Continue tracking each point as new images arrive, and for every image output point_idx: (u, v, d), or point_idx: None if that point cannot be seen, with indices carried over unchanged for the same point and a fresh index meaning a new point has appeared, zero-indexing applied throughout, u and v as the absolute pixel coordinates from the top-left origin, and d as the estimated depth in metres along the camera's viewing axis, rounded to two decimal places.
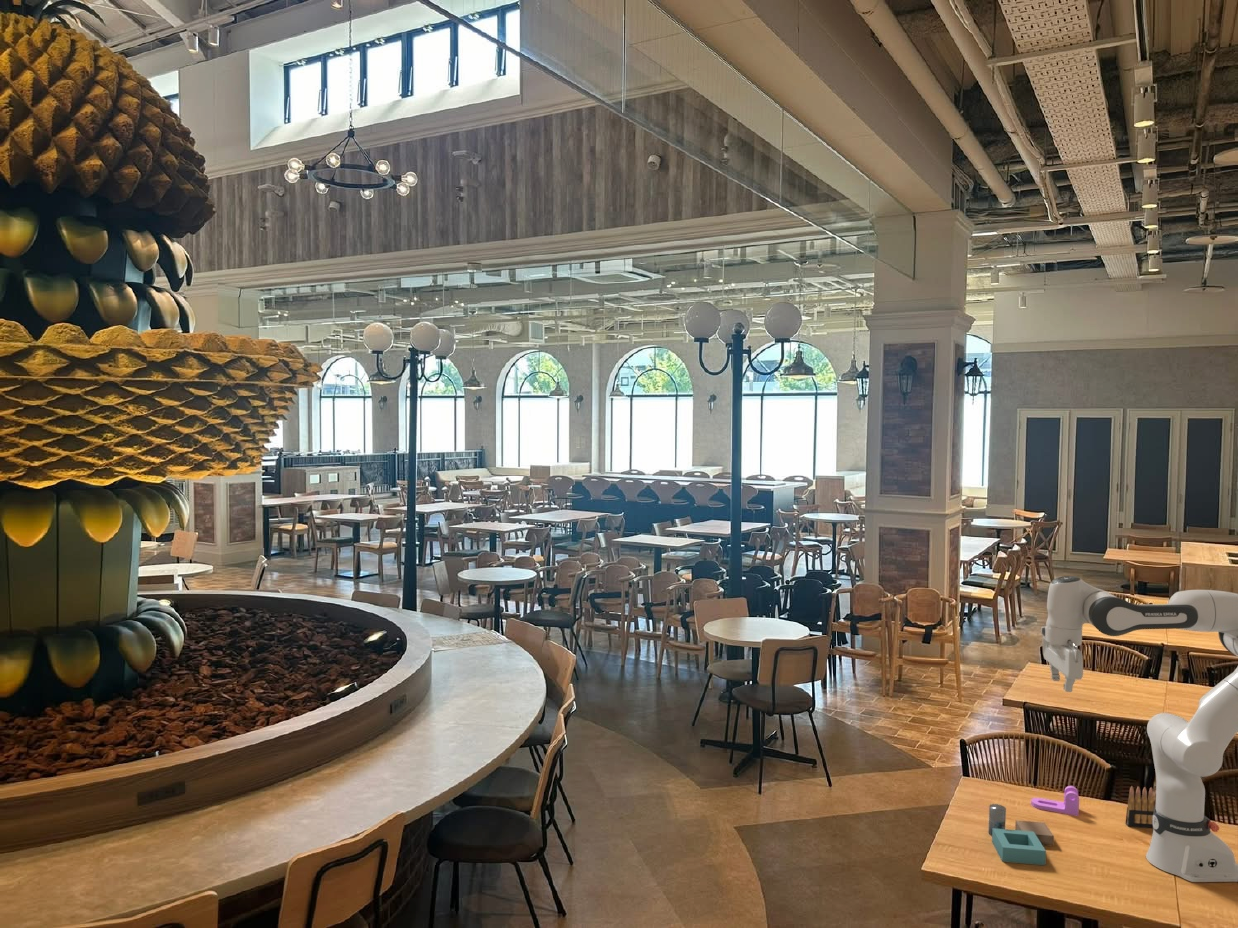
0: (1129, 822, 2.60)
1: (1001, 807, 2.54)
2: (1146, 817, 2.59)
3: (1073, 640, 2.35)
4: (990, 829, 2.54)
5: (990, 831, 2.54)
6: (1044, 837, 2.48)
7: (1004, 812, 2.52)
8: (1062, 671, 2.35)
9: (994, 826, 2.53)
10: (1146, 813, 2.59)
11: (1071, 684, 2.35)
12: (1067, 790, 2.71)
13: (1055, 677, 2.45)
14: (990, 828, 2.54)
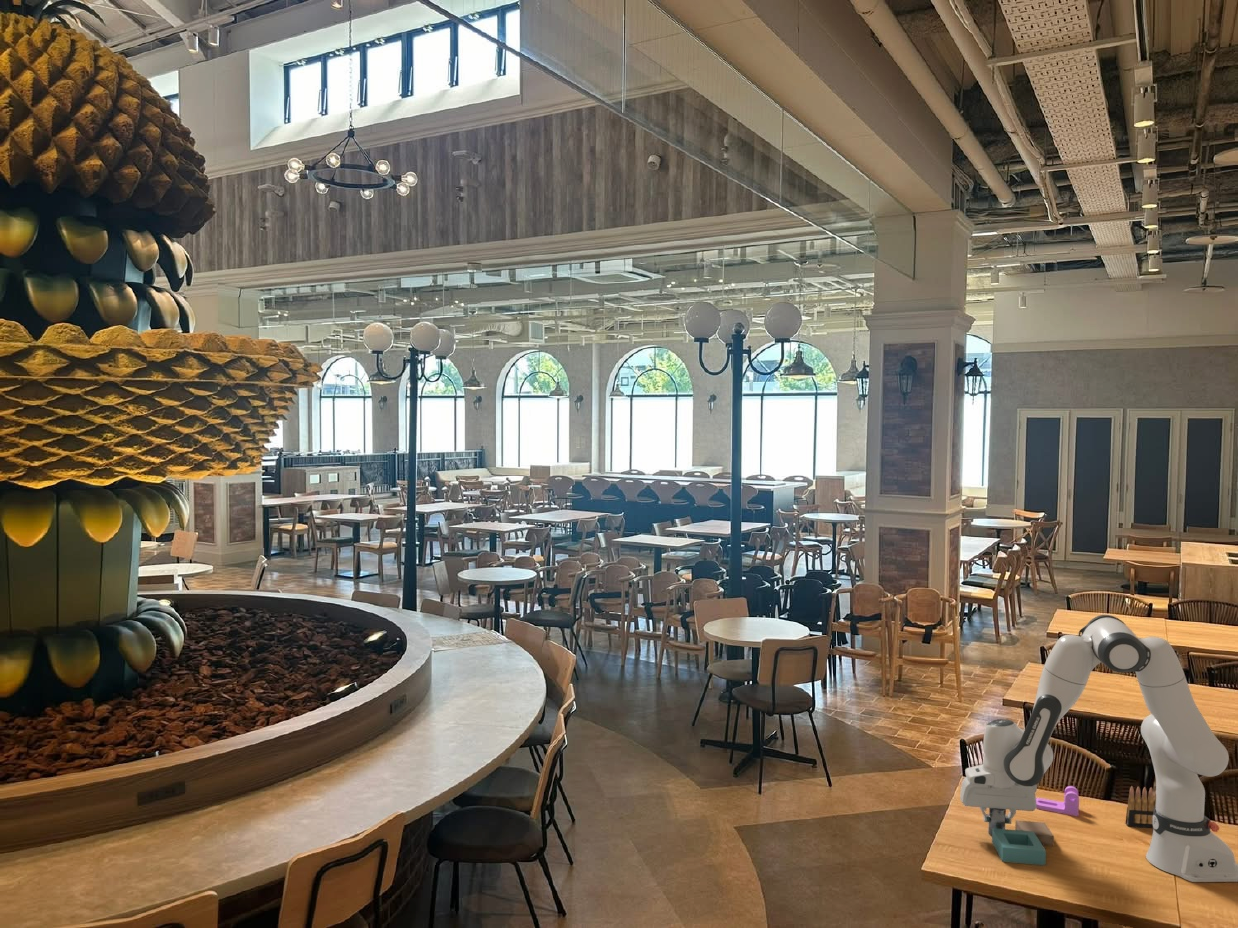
0: (1129, 822, 2.60)
1: None
2: (1146, 817, 2.59)
3: None
4: (990, 829, 2.54)
5: (990, 831, 2.54)
6: (1044, 837, 2.48)
7: (1004, 812, 2.52)
8: (1019, 807, 2.51)
9: (994, 826, 2.53)
10: (1146, 813, 2.59)
11: None
12: (1067, 790, 2.71)
13: None
14: (990, 828, 2.54)
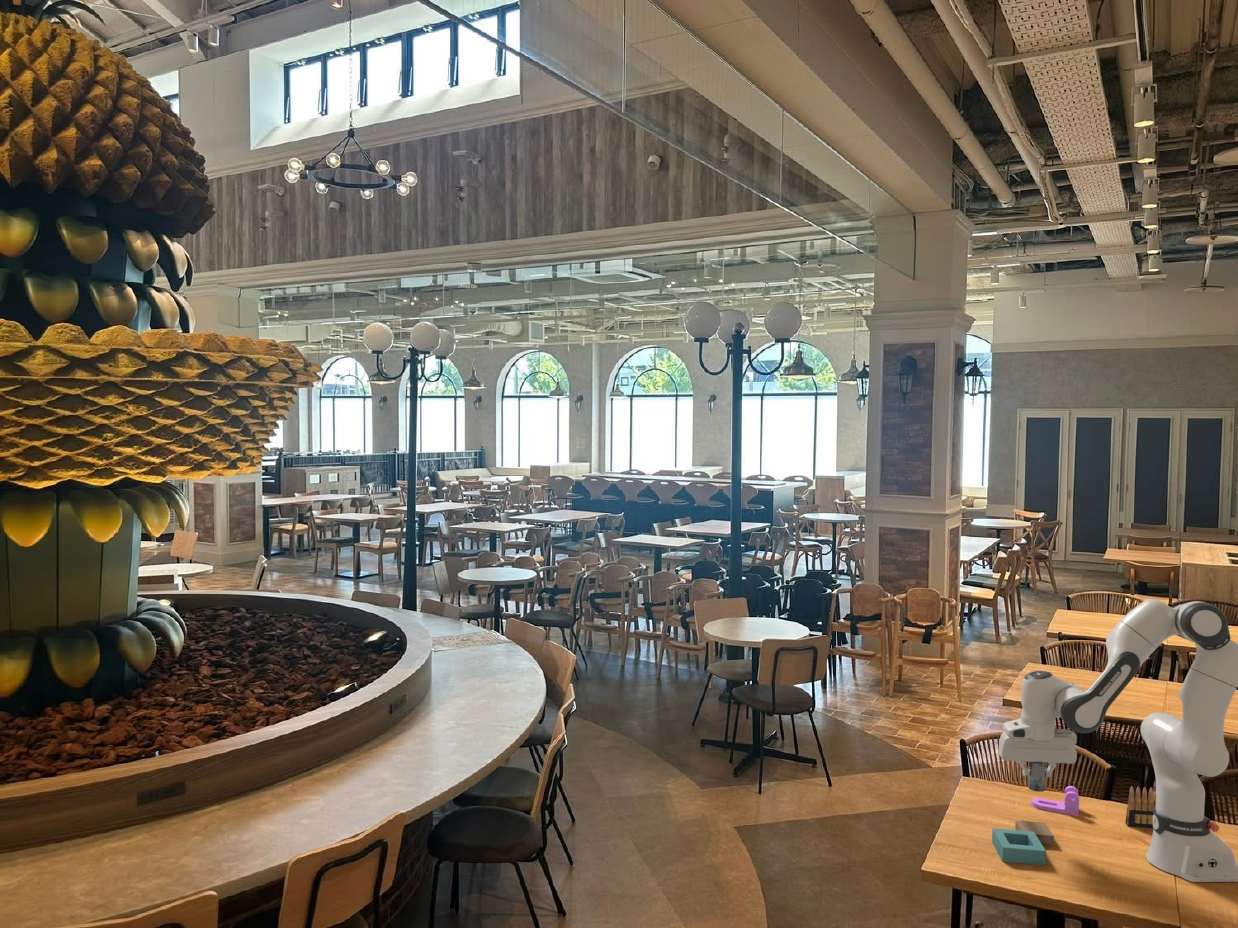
0: (1129, 822, 2.60)
1: None
2: (1146, 817, 2.59)
3: None
4: (1030, 783, 2.51)
5: (1030, 785, 2.50)
6: (1044, 837, 2.48)
7: (1044, 765, 2.49)
8: (1059, 760, 2.48)
9: (1034, 780, 2.49)
10: (1146, 813, 2.59)
11: None
12: (1067, 790, 2.71)
13: None
14: (1030, 782, 2.51)
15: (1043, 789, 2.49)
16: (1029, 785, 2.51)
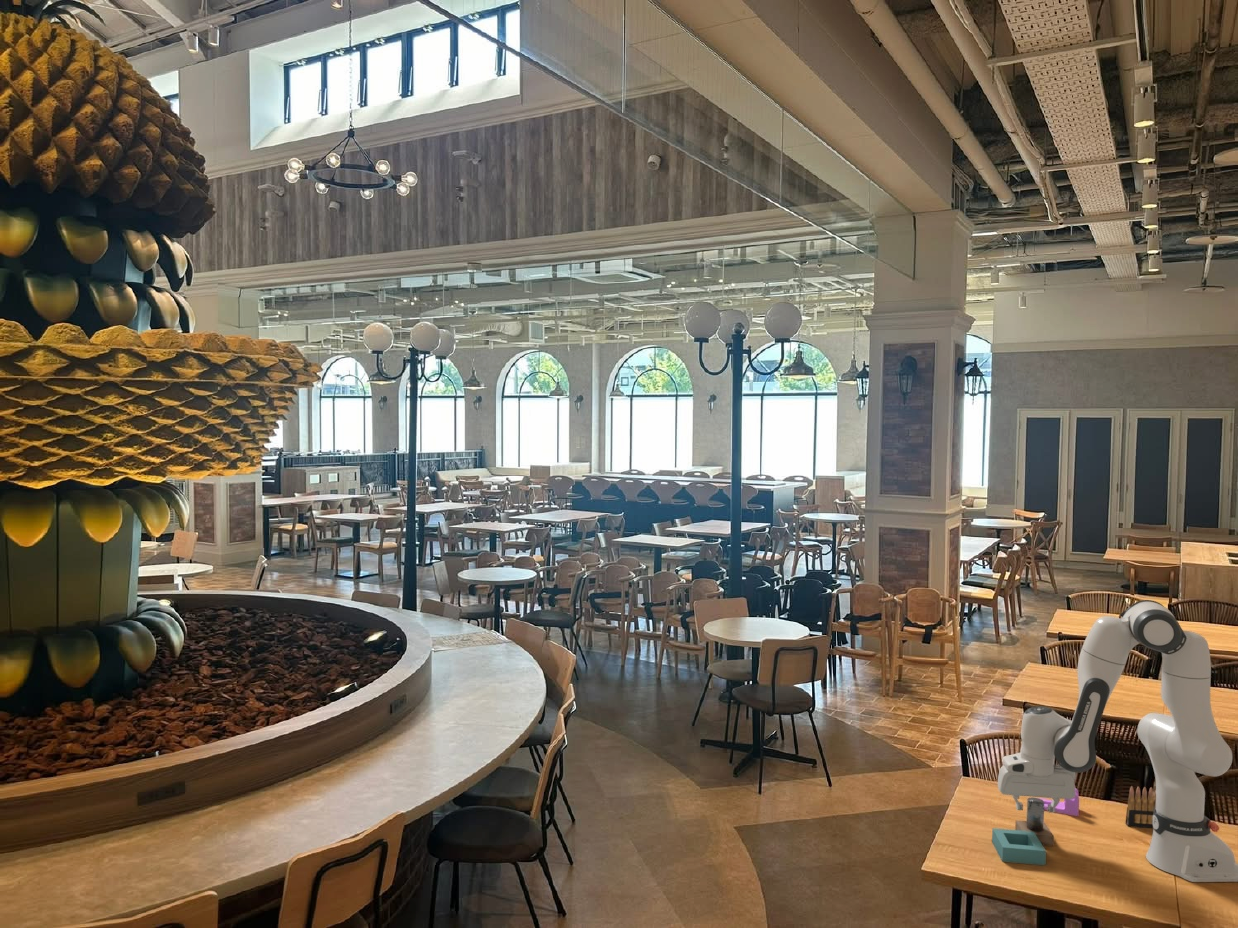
0: (1129, 822, 2.60)
1: (1039, 800, 2.52)
2: (1146, 817, 2.59)
3: None
4: (1028, 823, 2.52)
5: (1029, 824, 2.51)
6: (1044, 837, 2.48)
7: (1043, 805, 2.50)
8: (1058, 796, 2.49)
9: (1032, 820, 2.50)
10: (1146, 813, 2.59)
11: None
12: None
13: None
14: (1028, 822, 2.52)
15: (1041, 829, 2.50)
16: (1027, 824, 2.52)
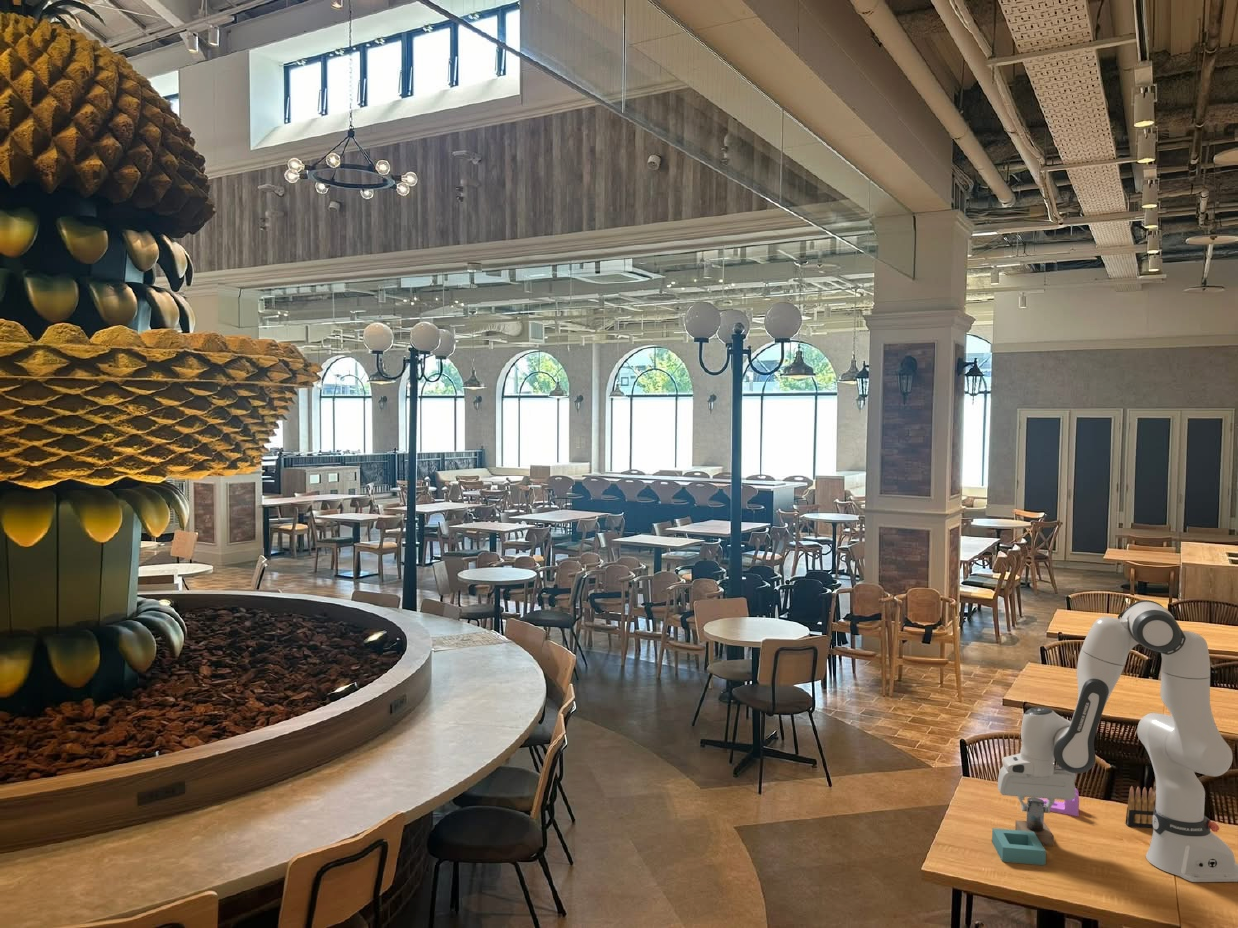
0: (1129, 822, 2.60)
1: (1039, 800, 2.52)
2: (1146, 817, 2.59)
3: None
4: (1028, 823, 2.52)
5: (1029, 824, 2.51)
6: (1044, 837, 2.48)
7: (1042, 805, 2.50)
8: (1058, 796, 2.49)
9: (1032, 820, 2.50)
10: (1146, 813, 2.59)
11: None
12: None
13: None
14: (1028, 822, 2.52)
15: (1041, 829, 2.50)
16: (1027, 824, 2.52)
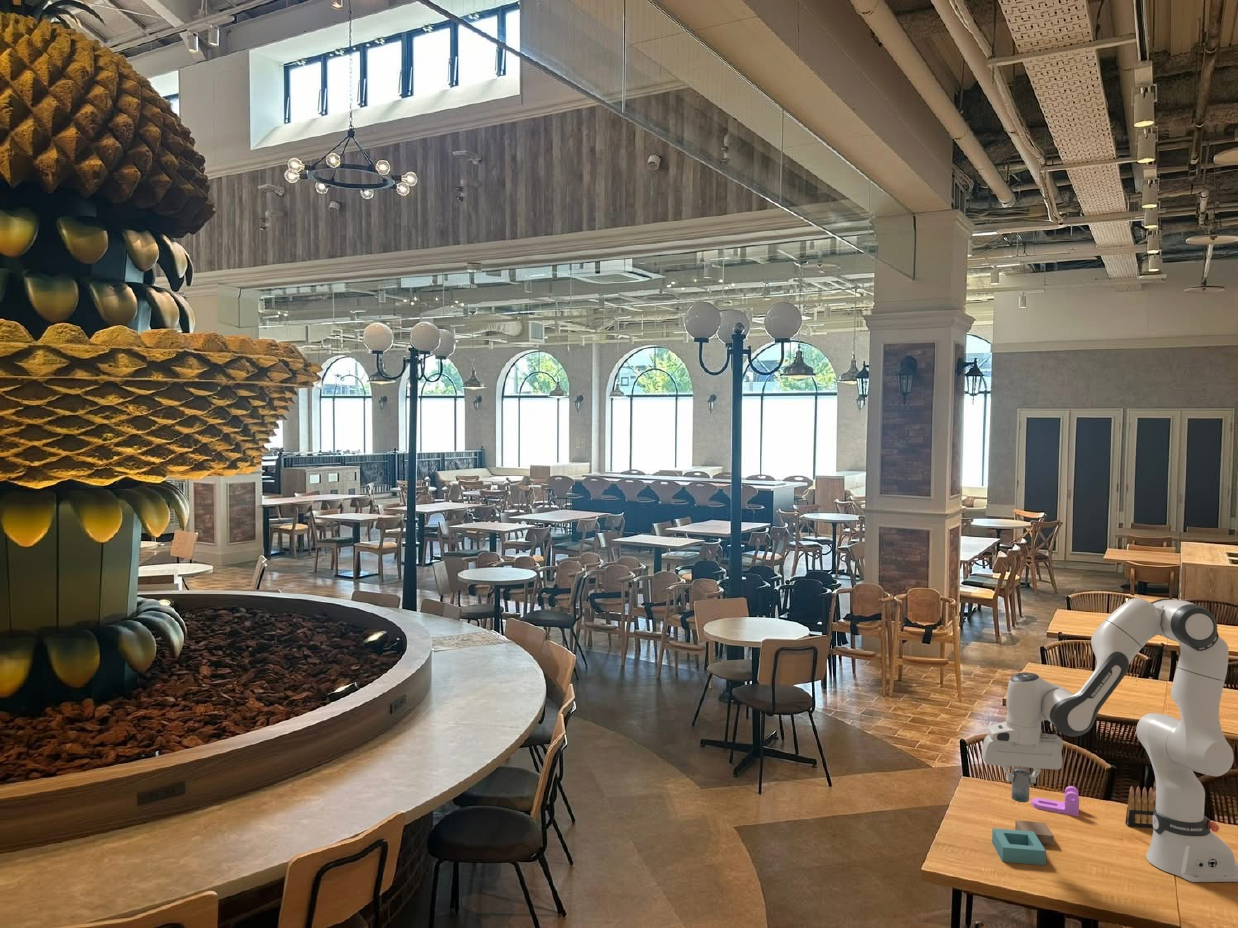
0: (1129, 822, 2.60)
1: (1025, 770, 2.42)
2: (1146, 817, 2.59)
3: None
4: (1013, 793, 2.42)
5: (1014, 795, 2.42)
6: (1044, 837, 2.48)
7: (1028, 775, 2.40)
8: (1044, 766, 2.39)
9: (1018, 790, 2.41)
10: (1146, 813, 2.59)
11: None
12: (1067, 790, 2.71)
13: None
14: (1013, 792, 2.42)
15: (1027, 800, 2.41)
16: (1012, 795, 2.43)
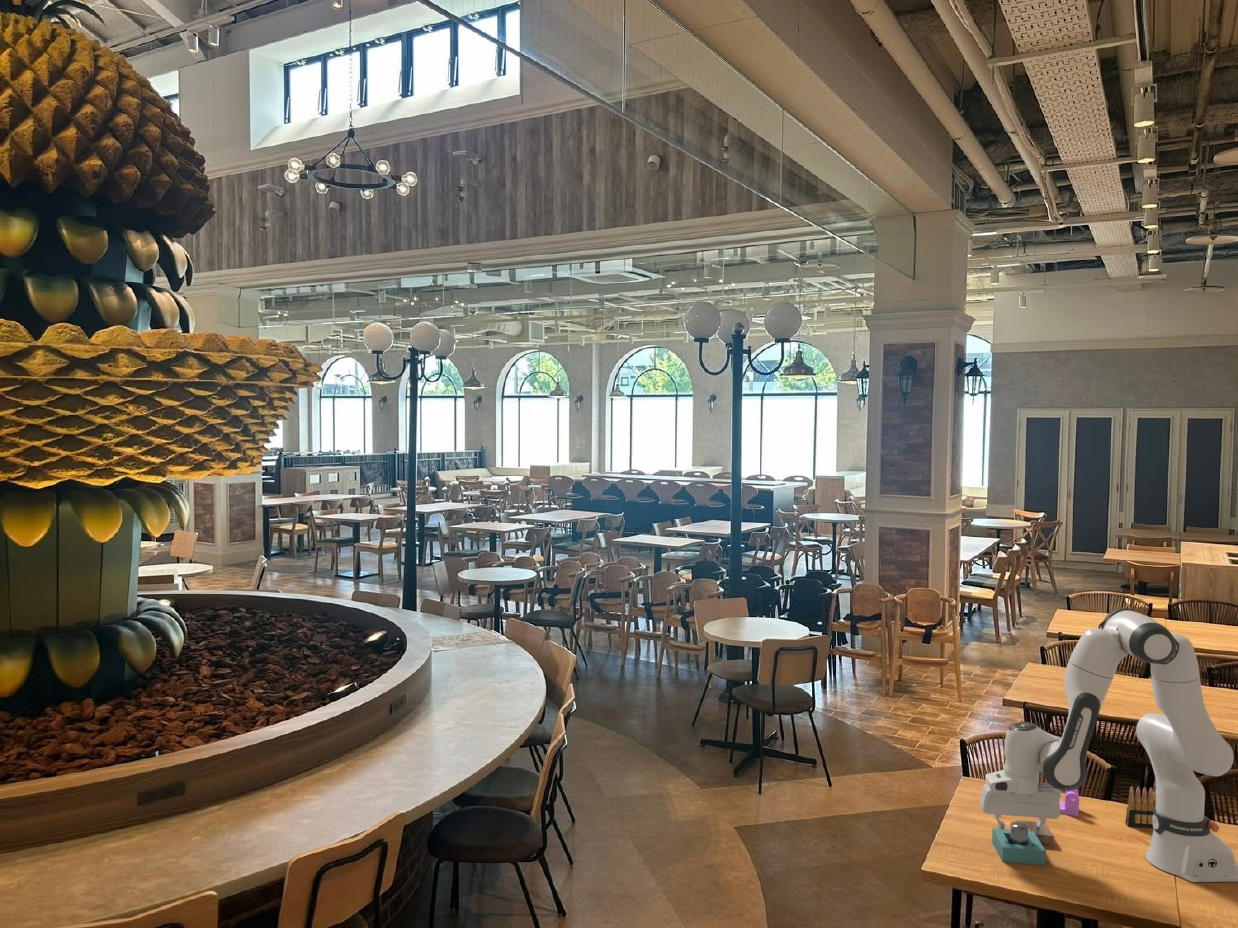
0: (1129, 822, 2.60)
1: (1023, 825, 2.43)
2: (1146, 817, 2.59)
3: None
4: None
5: None
6: (1044, 837, 2.48)
7: (1026, 830, 2.41)
8: (1042, 815, 2.40)
9: None
10: (1146, 813, 2.59)
11: None
12: None
13: None
14: None
15: None
16: None
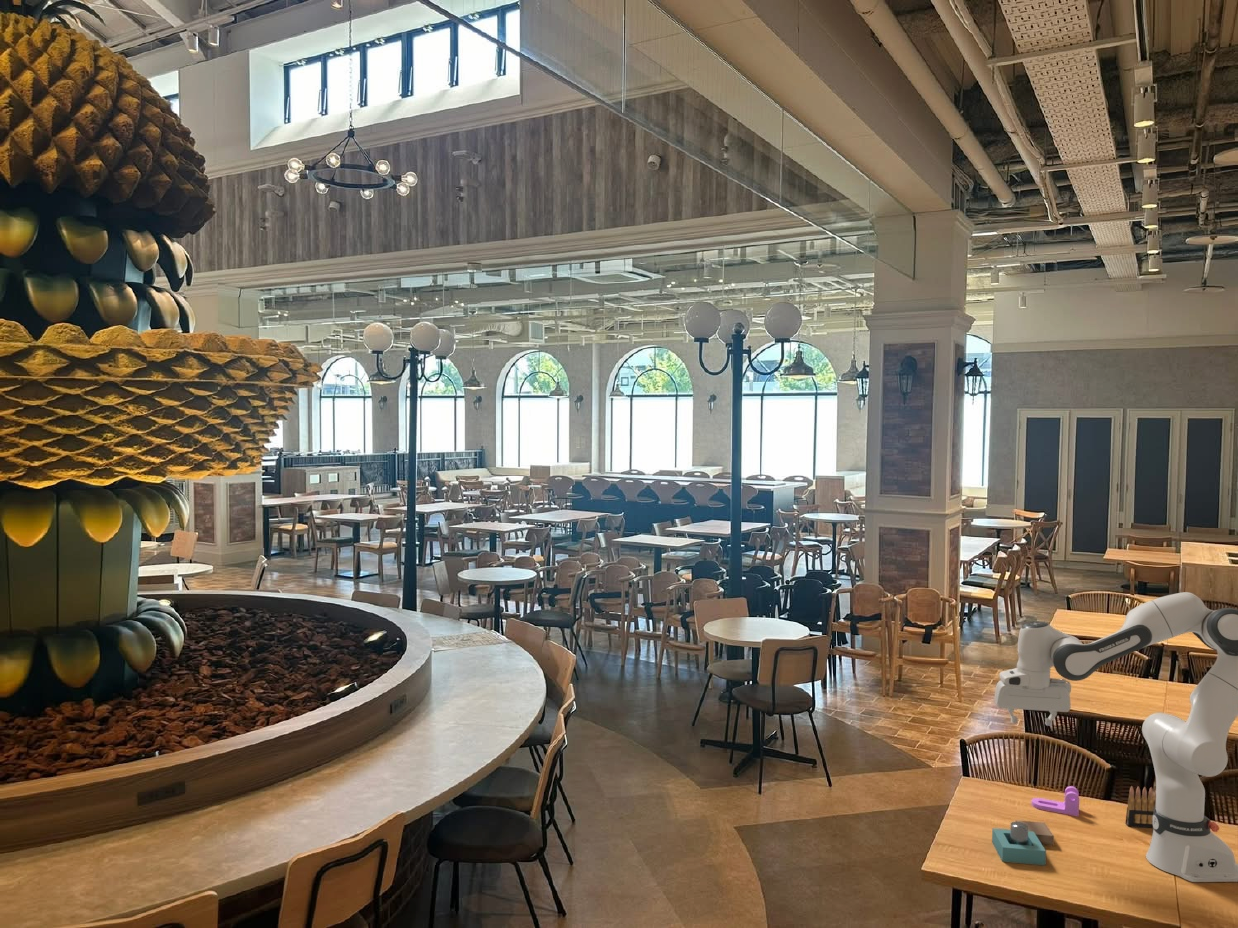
0: (1129, 822, 2.60)
1: (1023, 825, 2.43)
2: (1146, 817, 2.59)
3: None
4: None
5: None
6: (1044, 837, 2.48)
7: (1026, 830, 2.41)
8: (1053, 708, 2.54)
9: None
10: (1146, 813, 2.59)
11: None
12: (1067, 790, 2.71)
13: None
14: None
15: None
16: None
